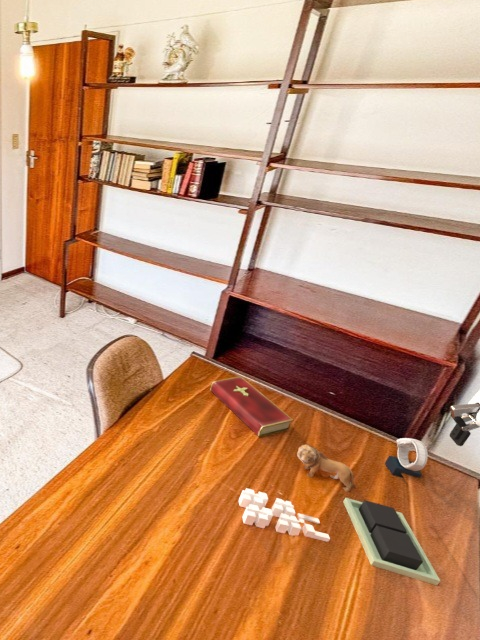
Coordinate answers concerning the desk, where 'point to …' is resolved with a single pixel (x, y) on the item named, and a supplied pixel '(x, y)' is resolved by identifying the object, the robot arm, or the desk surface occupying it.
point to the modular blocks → (277, 515)
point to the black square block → (380, 517)
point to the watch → (403, 462)
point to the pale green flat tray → (422, 573)
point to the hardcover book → (251, 406)
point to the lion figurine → (325, 465)
